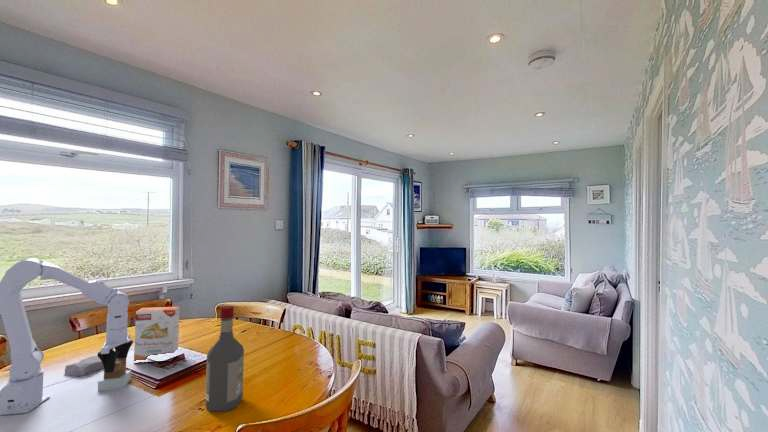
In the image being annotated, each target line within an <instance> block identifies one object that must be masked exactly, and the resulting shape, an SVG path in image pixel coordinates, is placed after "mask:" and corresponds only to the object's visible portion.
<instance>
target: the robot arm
mask: <svg viewBox="0 0 768 432" xmlns="http://www.w3.org/2000/svg"><path fill="white" fill-rule="evenodd" d="M38 277H40V278H39V280H41V281H44V280H45V281H47V280H55V281H57V282H59V283H62V284H65V285H66V286H69V287H72V288H75V289H76V290H80V291H81V295H82V297H84V298H86V299H89V300H91V301H93V302H95V303H98V304H101V305H106V306H107V315H106V332H105V342H104V344H103V346H102V347H101V349H100V351H99V352H97V356H98V357H99V358H100V360H101V361H102V363H103V366H104V368H103V371H104V370H105V373H110V372H113V371H114V368H115V362H116V358H126V359H127V357H128V353H129V351H130V348H131V347H132V345H133V343H134V340H133V339H132V338H131V333H128V324H129V322H128V319H129V313H128V309H129V308H128V306H129V305H130V299H129V297H128V295H127V293H125V292H124V291H123V290H120V289H119V288H117V287H116V288H113V287H111V286H109V285H107V284H105V281H103V280H100V281H99V280H91V281H88V280H86V279H84V278H82V277H80V276H77V275H76V274H74V273H72V272H70V271H68V270H67V269H65V268H62V267H60V266H58V265H55V264H53V263H50V262H48V261H43V260H41V259H39V258H36V257H27V258H24V259H21V260H20V261H17V262H16V263H15V264H13V265H12V266H10V268H8V269H7V270H6V272H4V275H3V276H2V278H1V280H0V316H1V319H2V323H3V325H4V330H5V333H6V337H7V340H8V344H9V348H10V362H11V364H10V367H9V369H8V373H9V377H8V382H7V383H6V385H5V386H3V387H2V388H1V389H0V416H7V415H18V414H27V413H29V412H31V411H32V410H34V409H35V408H36V407H37V406H39V405H41V404H42V403H43V402H45V401H46V400H48V399H49V398H50V397H51V395H43V391H44V374H45V373H44V369H43V368H42V367H41V363H43V362H42V361H44V358H45V357H44V356H45V355H44V353H43V351H42V350H40V349H39V348H38V346H37V343H36V341H35V340H34V338H33V334H32V331H31V327H30V323H29V319H28V315H27V312H26V309H25V305H24V302H23V298H22V294H21V291H22V290H23V289H24V288H25V287H26V286H27V285H28V284H29V283H31V282H32V281H34V280H36V279H38Z"/></svg>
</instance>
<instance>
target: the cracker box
mask: <svg viewBox="0 0 768 432" xmlns="http://www.w3.org/2000/svg"><path fill="white" fill-rule="evenodd" d="M134 328H135V329H134V349H133V353H134V354H133V362H134V361H136V360H146V359H147V357H148V356H150V355H158V354H166V353H174V352H175V351H176V350H178V351H179V334H180V333H179V332H180V331H179V328H180V306H163V307H161V306H158V307H142V308H140V309H138V310H136V311H135V325H134Z"/></svg>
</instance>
